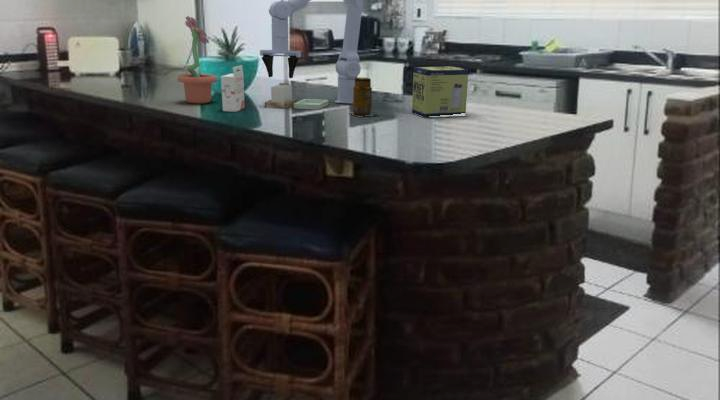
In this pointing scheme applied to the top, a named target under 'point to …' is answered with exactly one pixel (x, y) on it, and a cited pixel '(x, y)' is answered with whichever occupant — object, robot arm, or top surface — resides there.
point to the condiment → (362, 97)
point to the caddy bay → (280, 104)
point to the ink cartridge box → (233, 90)
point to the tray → (311, 104)
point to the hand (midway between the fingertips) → (280, 77)
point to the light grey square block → (281, 93)
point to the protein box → (439, 91)
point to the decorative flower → (195, 83)
